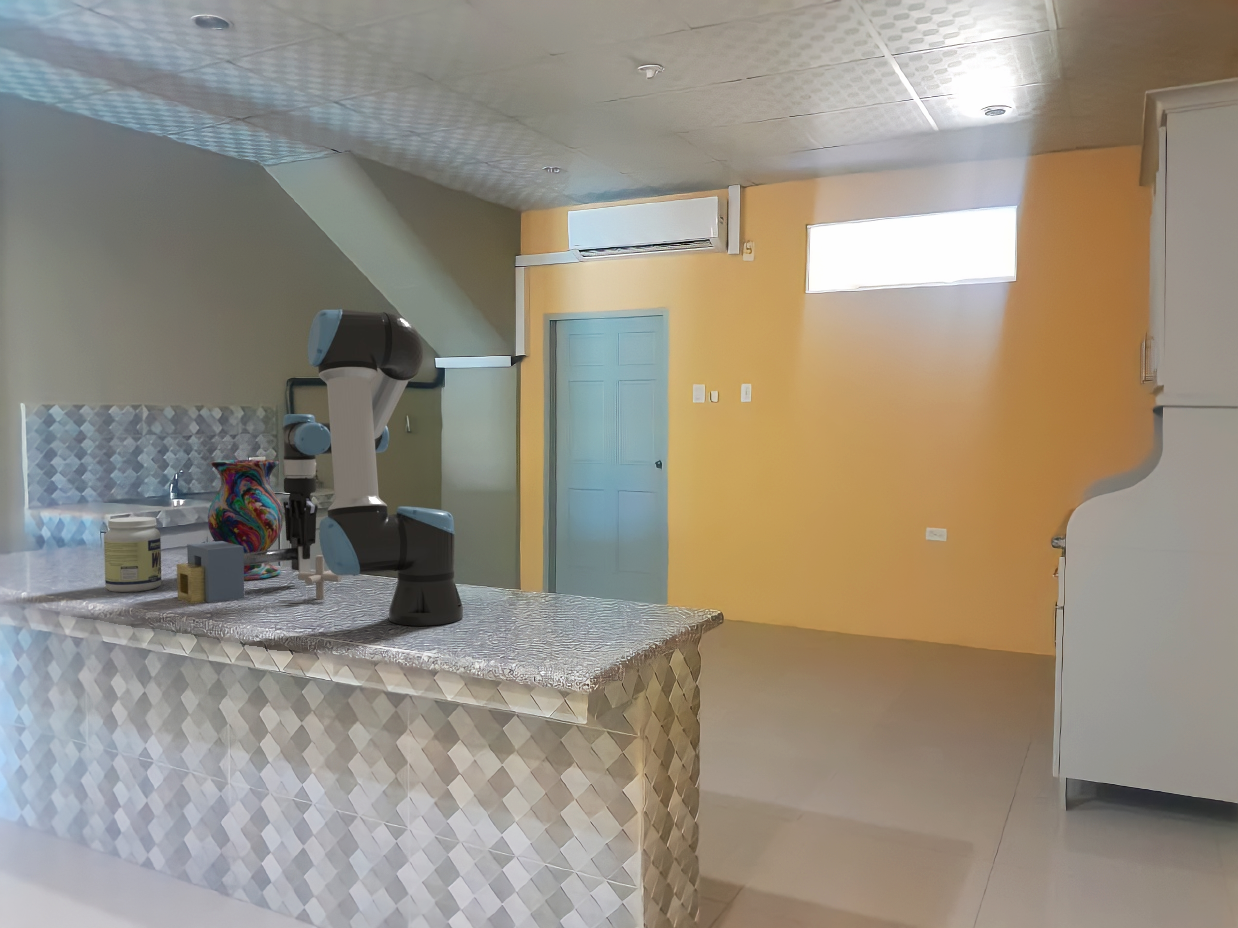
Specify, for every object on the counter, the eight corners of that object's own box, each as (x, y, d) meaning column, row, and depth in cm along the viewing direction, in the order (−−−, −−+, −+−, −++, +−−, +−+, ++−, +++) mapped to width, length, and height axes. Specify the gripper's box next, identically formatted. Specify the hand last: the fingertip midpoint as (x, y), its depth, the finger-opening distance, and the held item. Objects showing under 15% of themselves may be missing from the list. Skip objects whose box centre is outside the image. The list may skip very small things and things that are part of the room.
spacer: (205, 601, 211) (204, 566, 211) (191, 603, 209) (190, 568, 209) (190, 596, 217) (190, 562, 216) (177, 598, 215) (176, 564, 214)
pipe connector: (329, 604, 209) (328, 559, 208) (288, 602, 211) (287, 558, 210) (350, 595, 219) (350, 553, 218) (311, 593, 221) (311, 551, 220)
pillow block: (244, 597, 215) (243, 546, 215) (209, 602, 210) (208, 549, 209) (222, 590, 224) (221, 540, 223) (188, 595, 218) (187, 544, 217)
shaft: (309, 569, 231) (308, 537, 231) (215, 580, 215) (214, 546, 215) (303, 567, 234) (302, 535, 233) (210, 578, 217) (209, 544, 217)
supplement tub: (159, 591, 223) (158, 520, 222) (101, 594, 219) (99, 522, 218) (163, 582, 234) (162, 515, 233) (108, 585, 230) (107, 517, 229)
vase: (240, 584, 232) (238, 464, 230) (193, 577, 241) (191, 461, 239) (299, 573, 248) (297, 461, 246) (253, 567, 257) (251, 458, 255)
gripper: (330, 477, 227) (331, 573, 229) (298, 474, 239) (299, 565, 240) (301, 479, 222) (302, 577, 223) (270, 475, 233) (271, 568, 234)
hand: (300, 570), depth 232 cm, fingers closed on shaft, 3 cm apart
